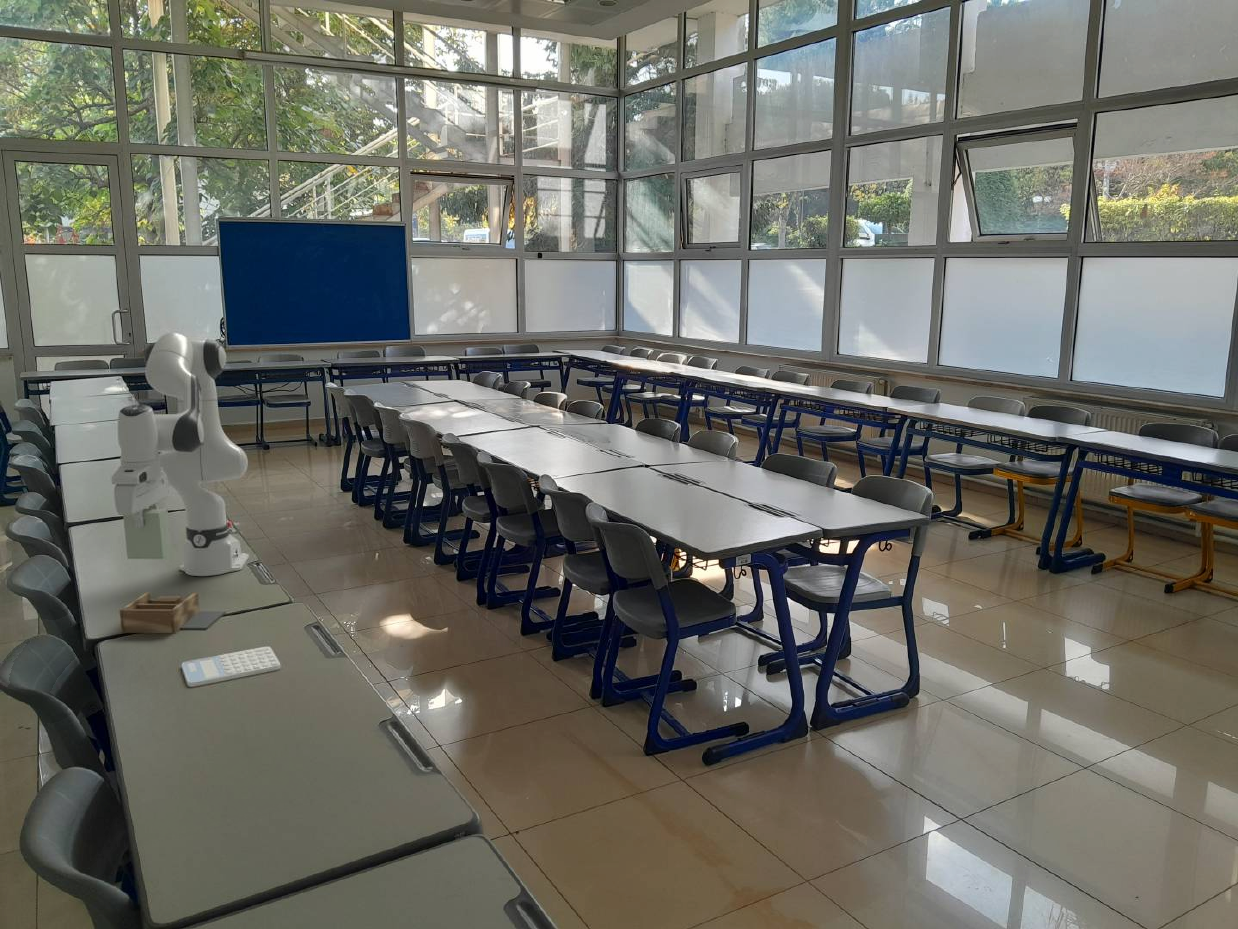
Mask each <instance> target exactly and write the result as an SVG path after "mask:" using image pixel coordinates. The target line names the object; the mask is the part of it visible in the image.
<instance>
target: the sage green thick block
mask: <svg viewBox="0 0 1238 929" xmlns="http://www.w3.org/2000/svg"><path fill="white" fill-rule="evenodd" d="M142 512H143V514H142V517H143V519H145V526H143V527H141V528H139V527H136V525H135V520H134V519H133V517H132V515H122V518H123V528H124V537H125V549H126V554H127V555H126V556H127V560H130V559H131V560H164V559H166V558H168V557H169V556H171V555H172V543H171V532H170V522H169V511H168V508H158V509H149V508H146V509H144V510H142Z"/></svg>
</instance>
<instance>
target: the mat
mask: <svg viewBox="0 0 1238 929" xmlns="http://www.w3.org/2000/svg"><path fill="white" fill-rule="evenodd" d="M225 614H226V610H221V611H219V610H199V612H198V613H197V614H196V615H195V616H193V617H192V618H191V619H190V620H188V621H187V622H186V623H185V624H183V625H182V626H181V627H180V630H205V631H206V630H208V629H209V628H210V627H211V626H212V625H214V624H215V623H216V622H217V621H218V620H219V619H220V618H222V617H223V616H224V615H225Z"/></svg>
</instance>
